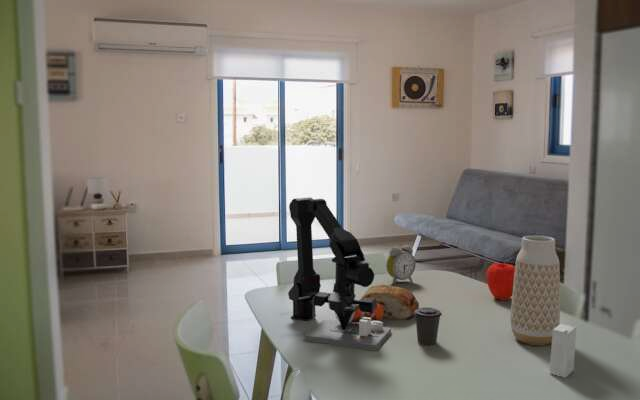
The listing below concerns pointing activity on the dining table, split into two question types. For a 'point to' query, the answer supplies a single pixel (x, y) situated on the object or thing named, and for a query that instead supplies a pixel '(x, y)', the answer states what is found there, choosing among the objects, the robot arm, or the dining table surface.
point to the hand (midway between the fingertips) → (344, 329)
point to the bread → (393, 301)
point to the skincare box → (563, 350)
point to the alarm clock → (401, 263)
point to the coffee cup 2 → (427, 325)
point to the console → (348, 334)
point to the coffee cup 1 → (366, 315)
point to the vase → (536, 291)
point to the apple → (501, 280)
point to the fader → (365, 326)
